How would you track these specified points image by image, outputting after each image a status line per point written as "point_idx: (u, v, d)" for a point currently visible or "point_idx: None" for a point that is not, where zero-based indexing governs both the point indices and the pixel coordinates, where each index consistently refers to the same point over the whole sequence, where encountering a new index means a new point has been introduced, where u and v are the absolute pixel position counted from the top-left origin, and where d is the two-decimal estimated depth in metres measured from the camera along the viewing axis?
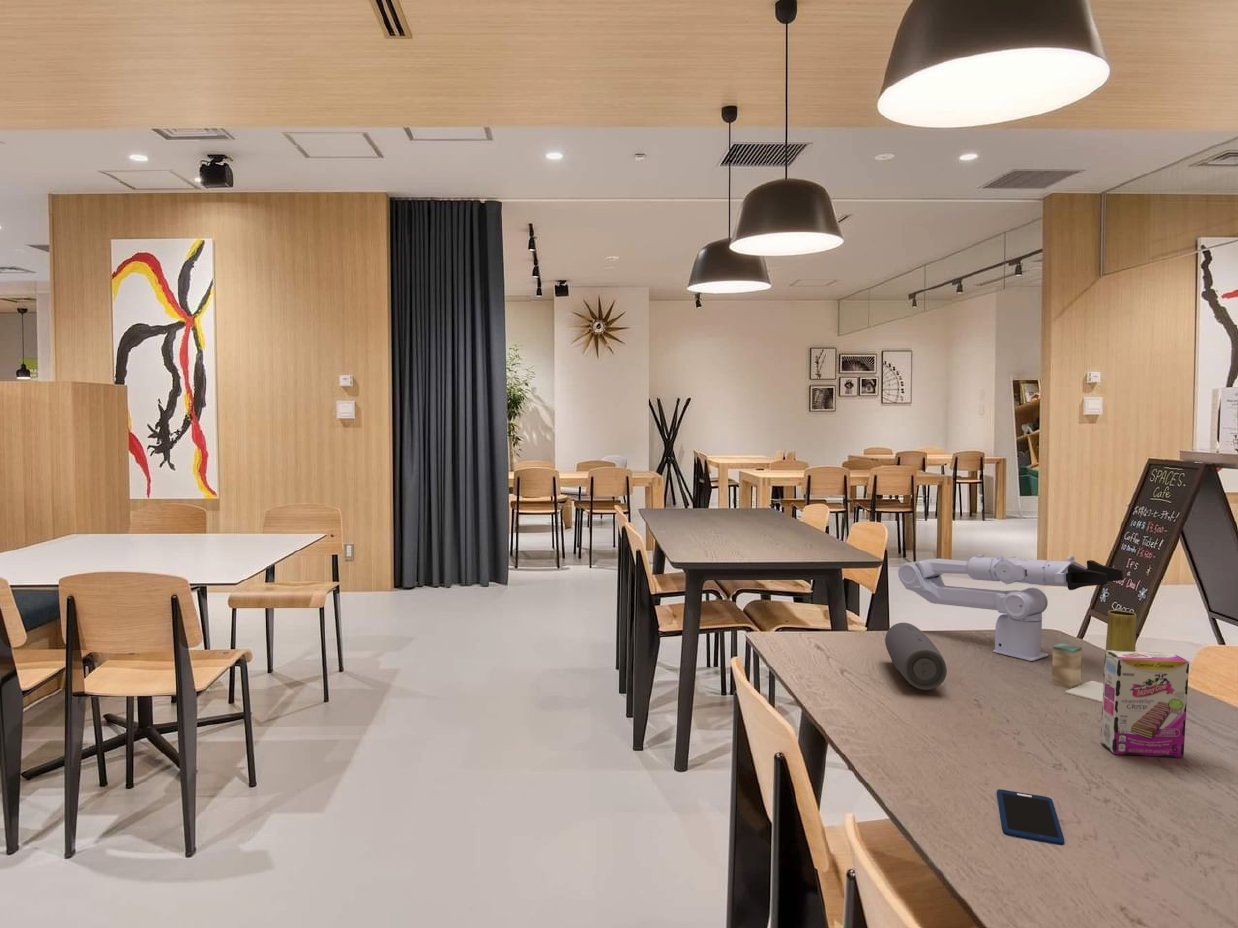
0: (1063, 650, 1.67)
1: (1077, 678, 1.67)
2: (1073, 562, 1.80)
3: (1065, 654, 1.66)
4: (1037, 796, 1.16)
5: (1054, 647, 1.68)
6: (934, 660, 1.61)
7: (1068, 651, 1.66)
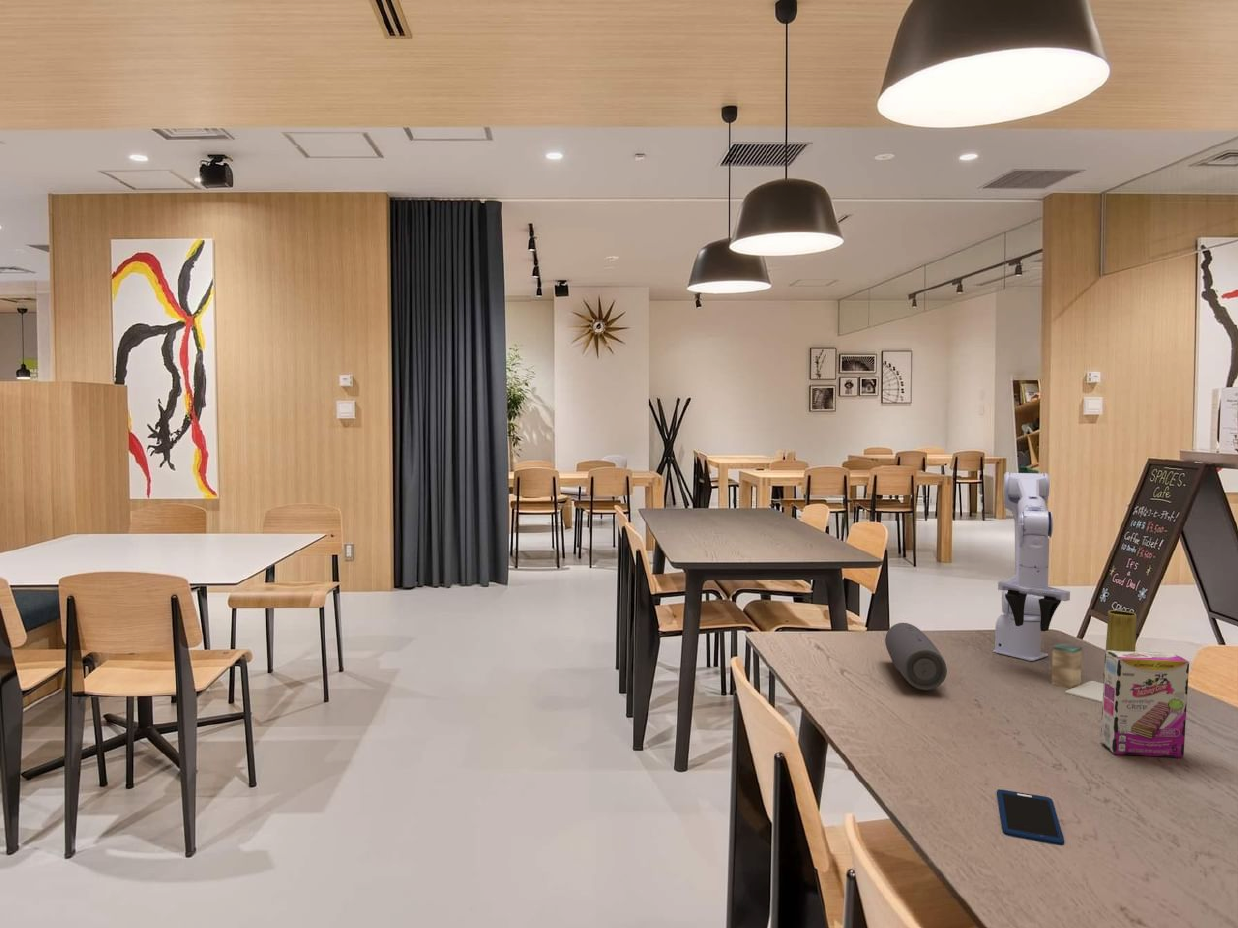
0: (1063, 650, 1.67)
1: (1077, 678, 1.67)
2: None
3: (1065, 654, 1.66)
4: (1037, 796, 1.16)
5: (1054, 647, 1.68)
6: (934, 660, 1.61)
7: (1068, 651, 1.66)
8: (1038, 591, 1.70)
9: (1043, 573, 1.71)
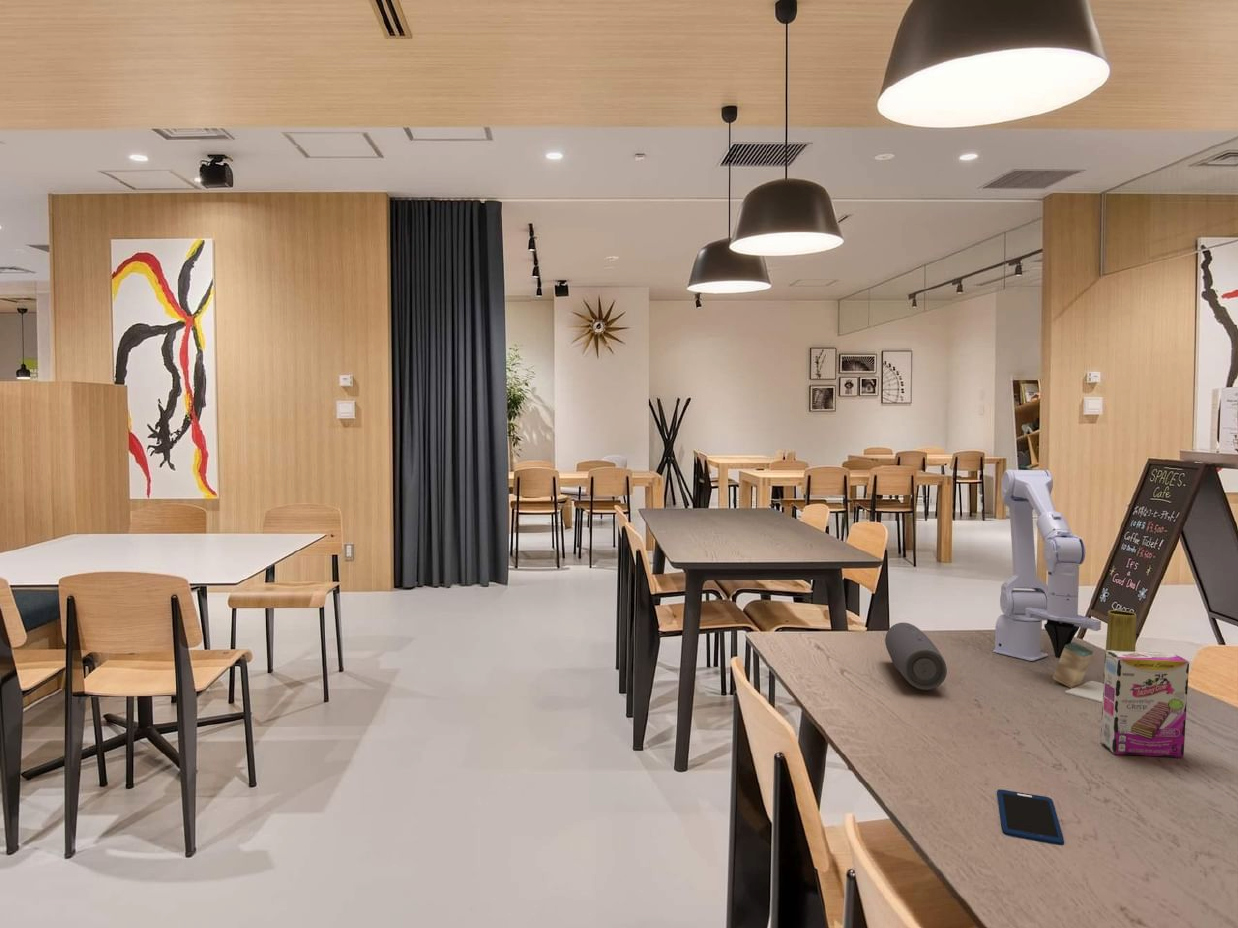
0: (1074, 651, 1.65)
1: (1080, 679, 1.67)
2: None
3: (1075, 656, 1.65)
4: (1037, 796, 1.16)
5: (1066, 646, 1.66)
6: (934, 660, 1.61)
7: (1079, 654, 1.64)
8: (1068, 620, 1.65)
9: (1073, 601, 1.66)
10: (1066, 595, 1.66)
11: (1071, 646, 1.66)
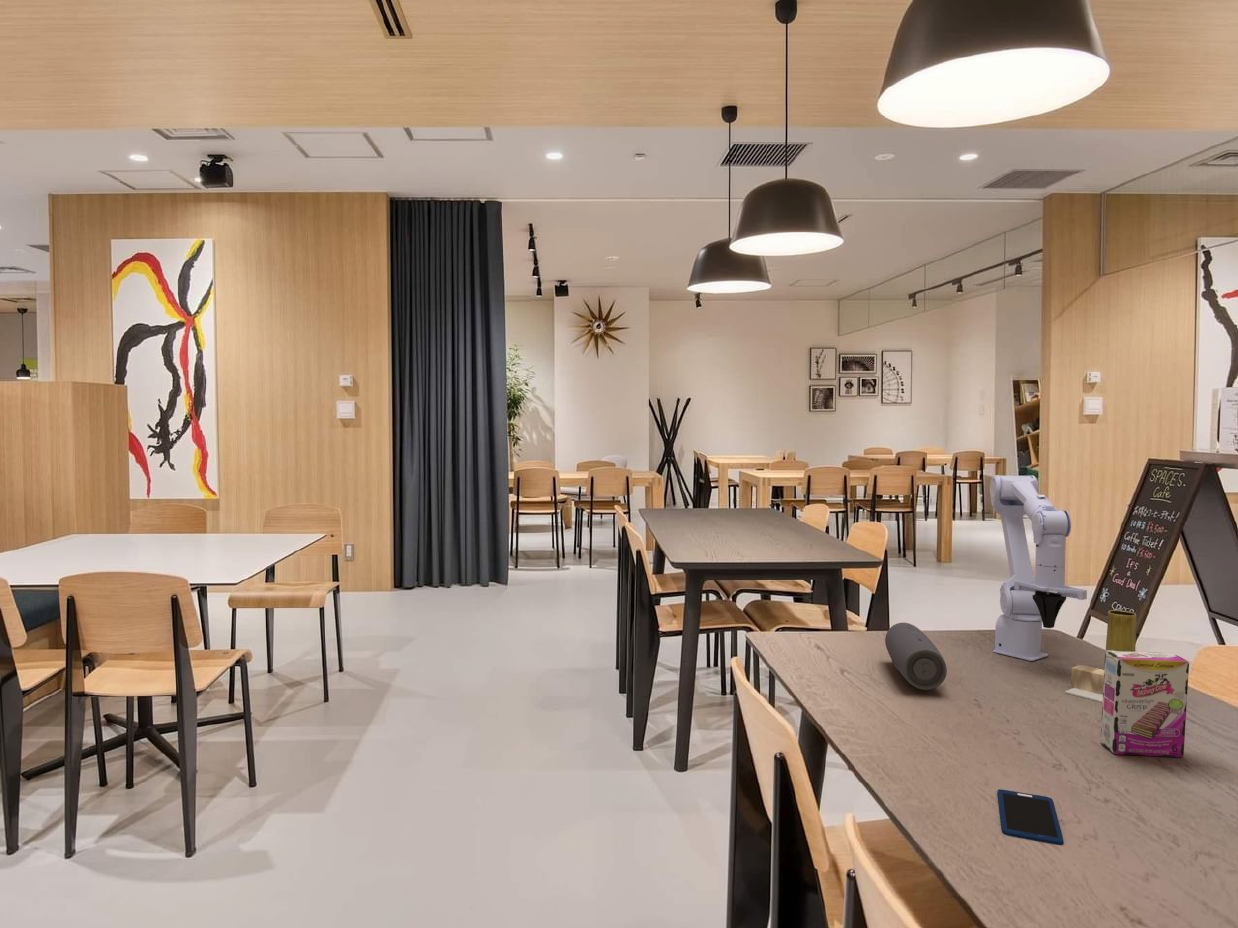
0: None
1: None
2: None
3: None
4: (1038, 796, 1.16)
5: None
6: (934, 660, 1.61)
7: None
8: (1055, 590, 1.71)
9: (1060, 572, 1.71)
10: (1053, 566, 1.71)
11: None
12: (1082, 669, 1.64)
